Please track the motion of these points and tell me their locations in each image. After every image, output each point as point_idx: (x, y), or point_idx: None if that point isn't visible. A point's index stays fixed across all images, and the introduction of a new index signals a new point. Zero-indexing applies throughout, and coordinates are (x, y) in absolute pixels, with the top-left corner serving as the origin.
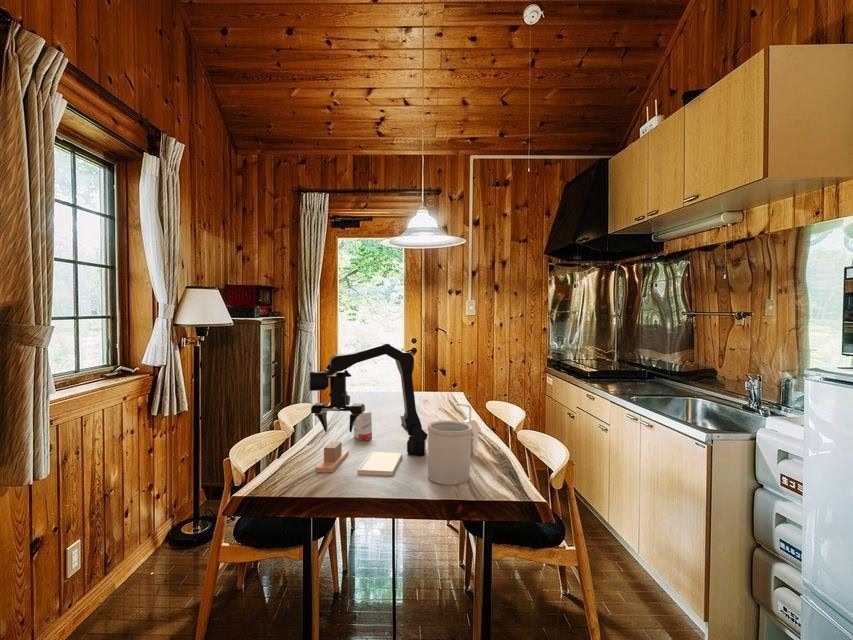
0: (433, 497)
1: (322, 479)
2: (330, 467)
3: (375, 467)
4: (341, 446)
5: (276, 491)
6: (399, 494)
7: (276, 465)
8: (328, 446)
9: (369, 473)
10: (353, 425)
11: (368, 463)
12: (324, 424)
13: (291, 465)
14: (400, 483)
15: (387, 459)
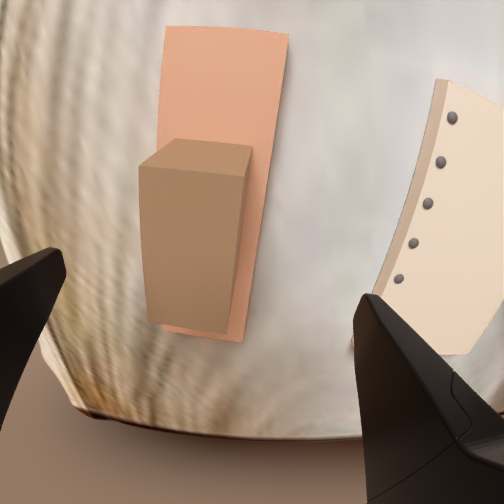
0: None
1: (221, 371)
2: (231, 335)
3: (429, 329)
4: (247, 163)
5: (131, 409)
6: None
7: (3, 238)
8: (167, 300)
9: None
10: (423, 348)
11: (414, 287)
12: (24, 362)
13: (42, 238)
14: None
15: (502, 234)
